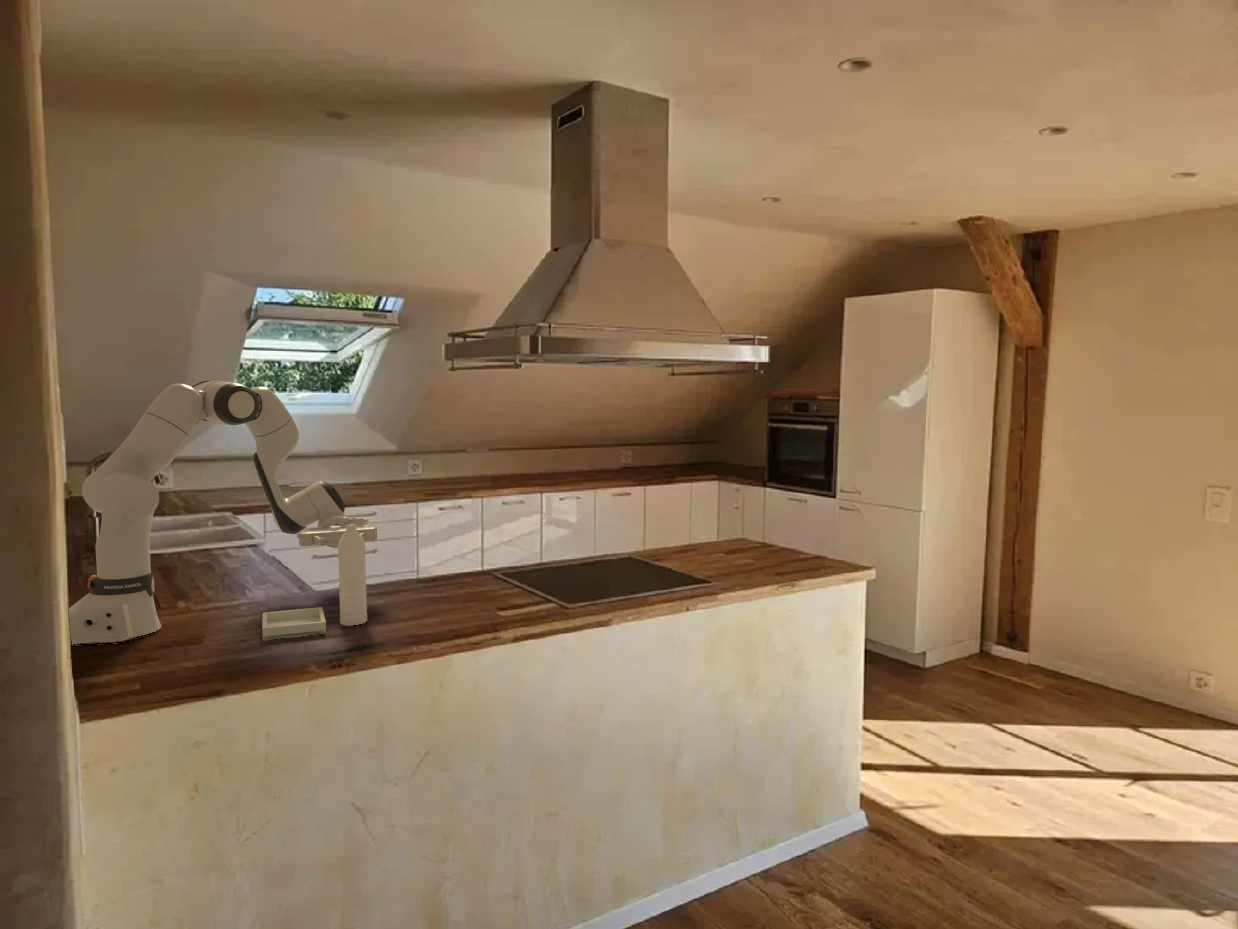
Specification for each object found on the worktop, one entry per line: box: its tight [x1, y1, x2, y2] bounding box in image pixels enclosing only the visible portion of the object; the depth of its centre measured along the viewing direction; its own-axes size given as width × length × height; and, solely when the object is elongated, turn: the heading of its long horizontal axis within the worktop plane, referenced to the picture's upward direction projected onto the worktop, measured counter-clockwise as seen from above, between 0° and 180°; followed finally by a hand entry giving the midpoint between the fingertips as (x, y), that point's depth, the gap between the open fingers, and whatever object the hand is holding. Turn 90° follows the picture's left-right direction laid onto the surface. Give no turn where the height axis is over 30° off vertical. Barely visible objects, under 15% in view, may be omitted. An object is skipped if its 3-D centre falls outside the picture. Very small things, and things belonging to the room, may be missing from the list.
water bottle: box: [330, 524, 368, 627], centre depth 209 cm, size 9×6×25 cm
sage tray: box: [261, 606, 327, 642], centre depth 205 cm, size 14×14×3 cm
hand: (340, 540), depth 222 cm, fingers open, 8 cm apart
